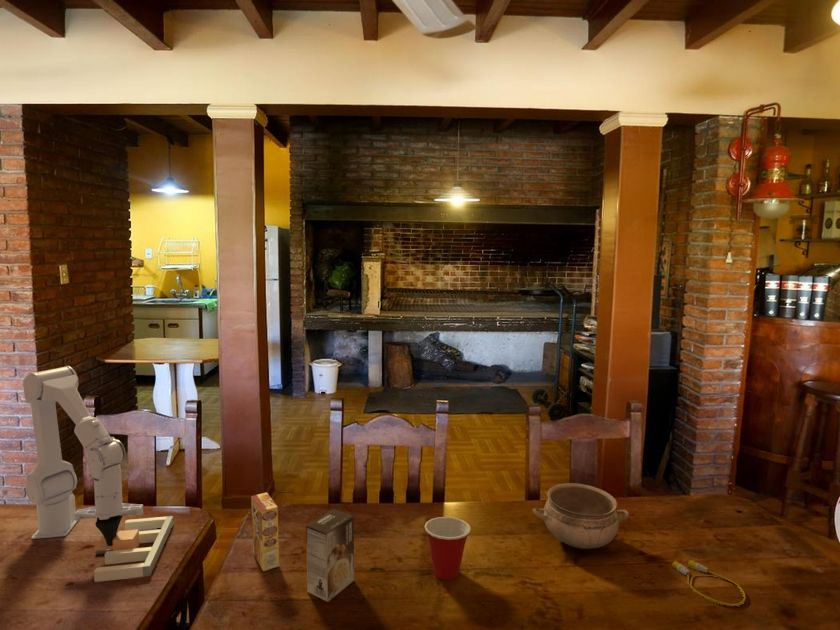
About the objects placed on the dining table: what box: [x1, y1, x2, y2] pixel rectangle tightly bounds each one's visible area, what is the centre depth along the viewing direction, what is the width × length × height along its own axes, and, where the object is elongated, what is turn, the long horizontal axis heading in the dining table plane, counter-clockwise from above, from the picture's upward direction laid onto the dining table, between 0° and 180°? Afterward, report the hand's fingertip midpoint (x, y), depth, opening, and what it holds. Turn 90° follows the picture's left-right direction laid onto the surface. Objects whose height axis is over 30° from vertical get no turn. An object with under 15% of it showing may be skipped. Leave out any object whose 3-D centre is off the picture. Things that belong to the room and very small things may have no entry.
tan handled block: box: [95, 529, 141, 556], centre depth 129 cm, size 4×9×4 cm, turn 101°
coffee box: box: [305, 508, 355, 603], centre depth 118 cm, size 9×6×16 cm
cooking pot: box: [532, 482, 630, 550], centre depth 138 cm, size 25×19×12 cm
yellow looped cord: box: [672, 559, 747, 607], centre depth 122 cm, size 12×16×2 cm
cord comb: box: [93, 515, 174, 583], centre depth 131 cm, size 23×12×2 cm, turn 13°
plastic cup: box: [423, 516, 471, 581], centre depth 124 cm, size 11×11×12 cm
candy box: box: [250, 492, 280, 572], centre depth 127 cm, size 9×4×15 cm, turn 33°
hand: (111, 543), depth 129 cm, fingers closed
